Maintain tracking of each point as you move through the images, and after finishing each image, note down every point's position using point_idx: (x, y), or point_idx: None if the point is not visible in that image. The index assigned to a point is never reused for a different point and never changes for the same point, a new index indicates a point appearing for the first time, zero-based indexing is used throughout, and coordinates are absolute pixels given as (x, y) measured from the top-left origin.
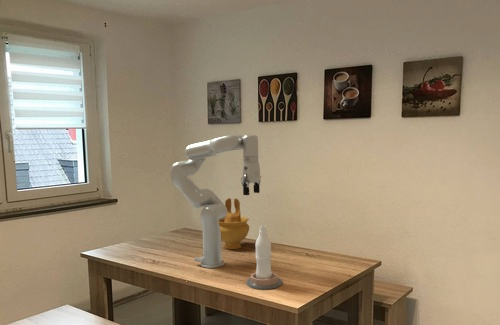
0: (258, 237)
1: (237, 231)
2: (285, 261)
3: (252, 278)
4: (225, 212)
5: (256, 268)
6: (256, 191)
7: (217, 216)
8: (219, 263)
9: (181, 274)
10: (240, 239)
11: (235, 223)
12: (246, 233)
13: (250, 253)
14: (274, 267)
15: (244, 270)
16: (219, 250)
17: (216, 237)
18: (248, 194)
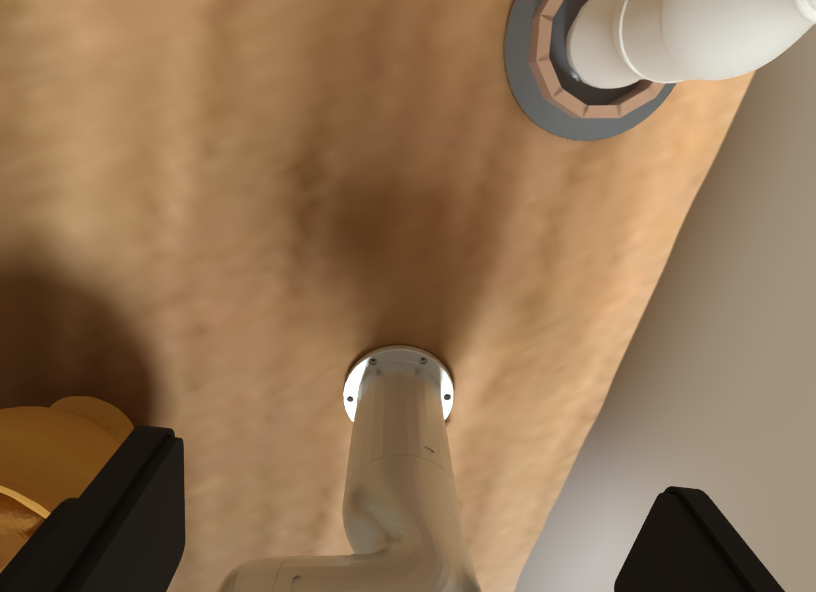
0: (806, 30)
1: (79, 454)
2: (191, 52)
3: (660, 89)
4: (275, 590)
5: (637, 80)
6: (169, 513)
7: (438, 578)
8: (406, 362)
9: (555, 437)
10: (74, 414)
11: (46, 506)
12: (10, 412)
13: (150, 306)
14: (329, 81)
15: (432, 221)
16: (405, 399)
17: (430, 457)
18: (702, 503)
